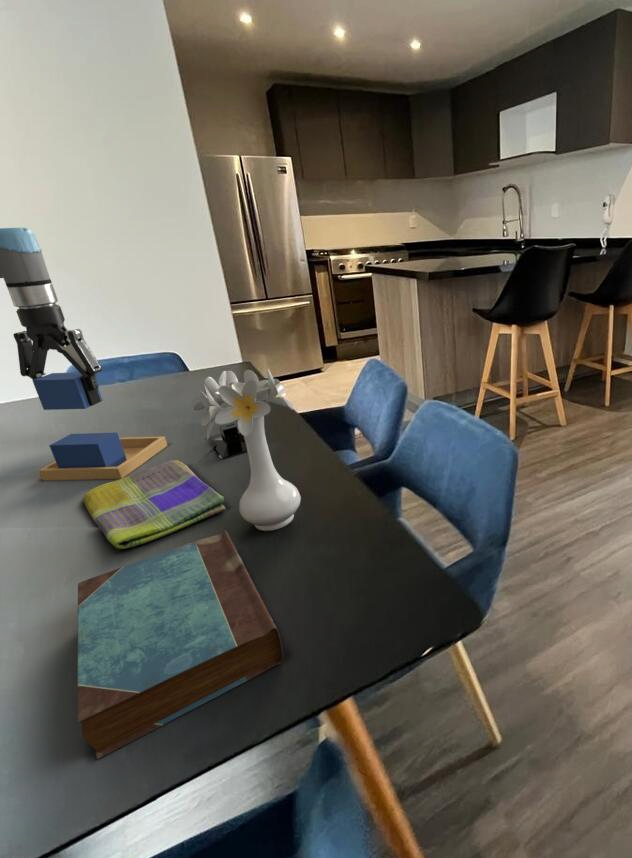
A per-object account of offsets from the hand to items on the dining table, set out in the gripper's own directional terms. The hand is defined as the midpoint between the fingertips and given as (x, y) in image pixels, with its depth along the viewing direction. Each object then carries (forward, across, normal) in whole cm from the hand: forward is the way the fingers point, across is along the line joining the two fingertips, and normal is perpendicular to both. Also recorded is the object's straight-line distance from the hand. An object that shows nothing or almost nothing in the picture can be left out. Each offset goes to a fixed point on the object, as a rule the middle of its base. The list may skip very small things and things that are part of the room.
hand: (73, 404), depth 113 cm
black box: (+9, -38, +5) cm, 40 cm away
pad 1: (0, 0, 0) cm, 0 cm away
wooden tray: (+9, -15, +13) cm, 22 cm away
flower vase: (+9, -59, +35) cm, 69 cm away
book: (+9, -58, +59) cm, 83 cm away
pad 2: (+8, -15, +17) cm, 24 cm away
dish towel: (+9, -36, +30) cm, 48 cm away
